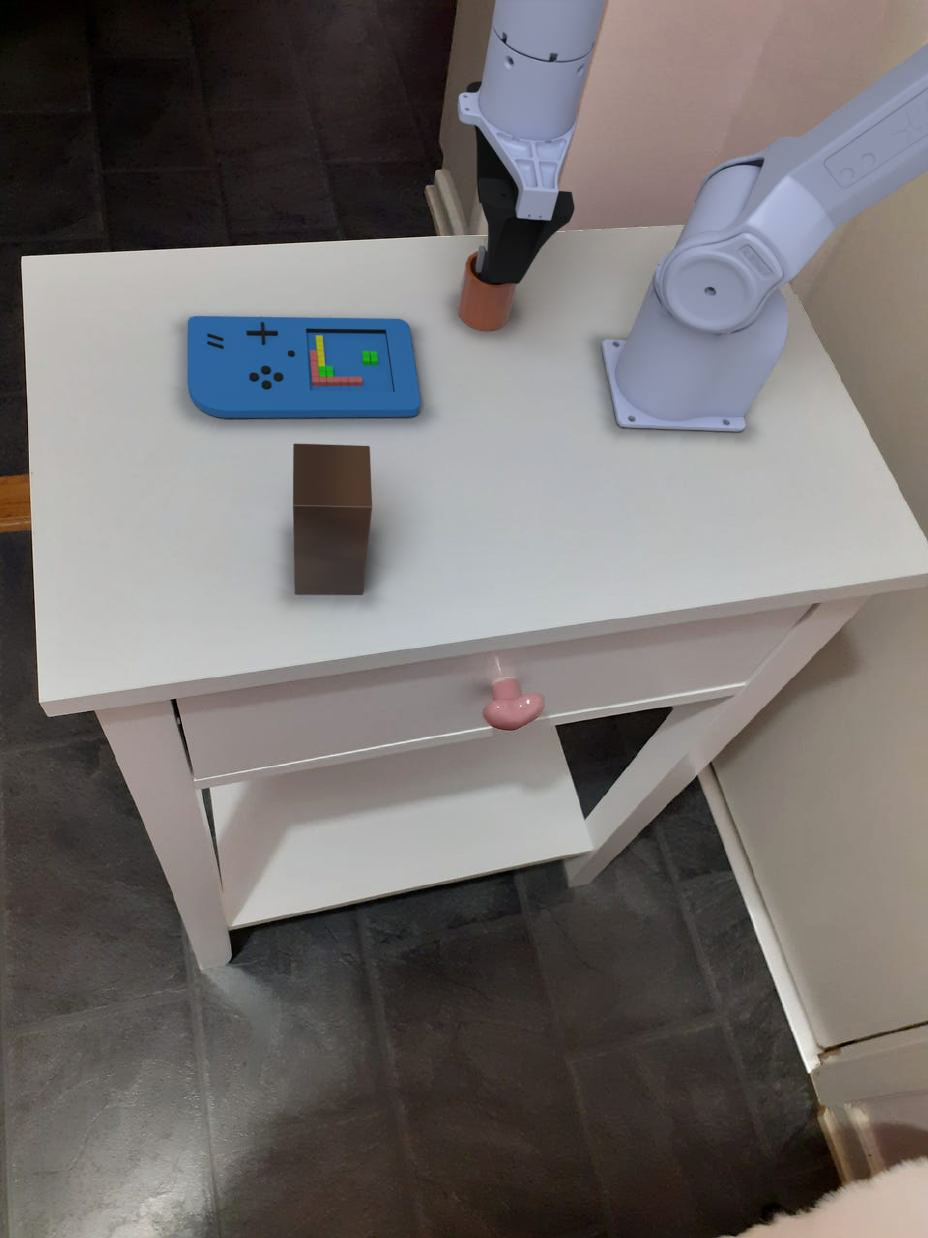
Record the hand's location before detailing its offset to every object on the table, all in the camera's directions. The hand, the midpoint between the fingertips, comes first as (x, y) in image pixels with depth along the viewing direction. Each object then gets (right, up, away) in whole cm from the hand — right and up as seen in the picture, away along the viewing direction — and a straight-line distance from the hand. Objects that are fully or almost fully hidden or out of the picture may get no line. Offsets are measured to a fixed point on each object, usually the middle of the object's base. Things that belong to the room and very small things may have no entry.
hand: (498, 238), depth 62 cm
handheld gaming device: (-13, -9, 0) cm, 16 cm away
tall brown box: (-10, -22, -7) cm, 26 cm away
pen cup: (-1, -3, +6) cm, 7 cm away
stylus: (-1, -3, +5) cm, 6 cm away
